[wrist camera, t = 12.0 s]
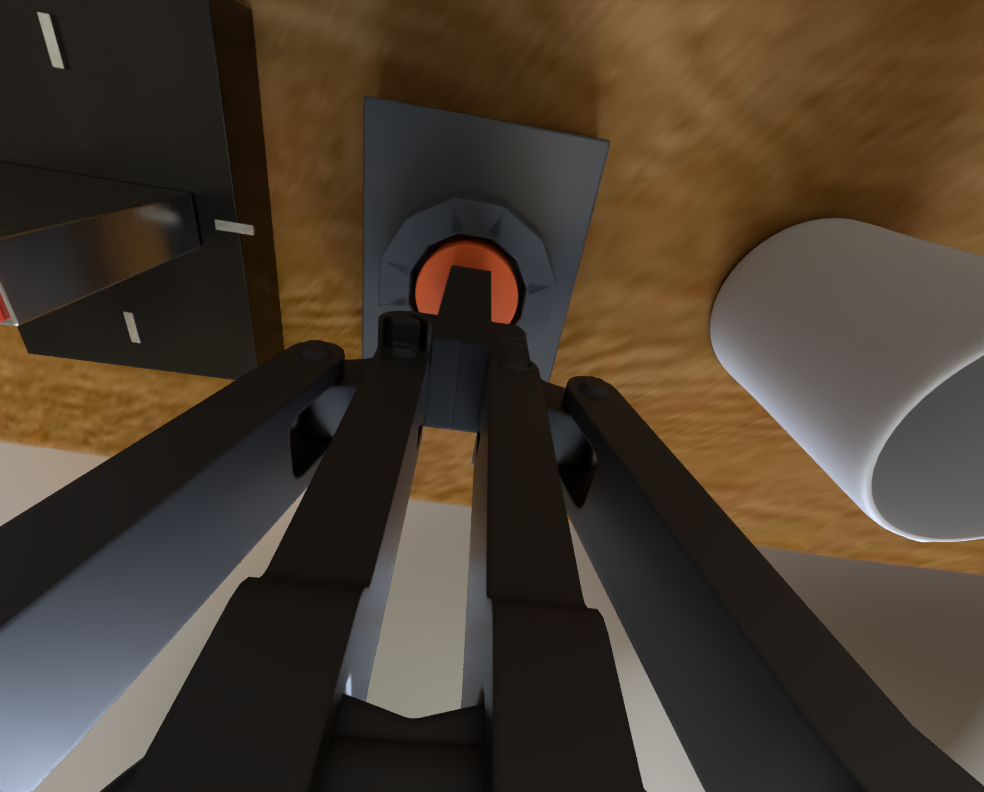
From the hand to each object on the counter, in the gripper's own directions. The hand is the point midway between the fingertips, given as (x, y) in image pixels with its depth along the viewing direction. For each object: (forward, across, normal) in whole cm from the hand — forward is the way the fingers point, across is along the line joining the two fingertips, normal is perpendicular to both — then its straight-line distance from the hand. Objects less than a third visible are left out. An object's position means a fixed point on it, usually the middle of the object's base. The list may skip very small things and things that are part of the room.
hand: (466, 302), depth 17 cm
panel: (+5, -14, +1) cm, 15 cm away
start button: (+2, 0, 0) cm, 2 cm away
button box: (+5, 0, 0) cm, 5 cm away
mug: (+5, +17, -1) cm, 18 cm away
